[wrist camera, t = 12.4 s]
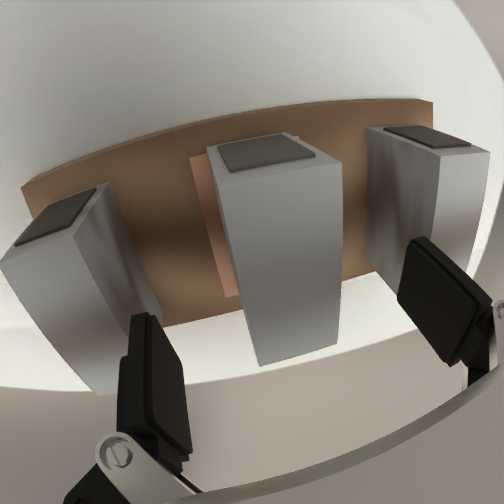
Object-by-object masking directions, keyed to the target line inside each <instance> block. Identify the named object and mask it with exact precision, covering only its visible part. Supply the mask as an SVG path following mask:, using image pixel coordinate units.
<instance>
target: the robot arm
mask: <svg viewBox="0 0 504 504" xmlns="http://www.w3.org/2000/svg"><path fill="white" fill-rule="evenodd" d="M397 301H398V303H399V305H400V306H401V307H402V308H403V310H404V311H405V312H406V313H407V315H408V316H409V317H410V318H411V320H412V321H413V322H414V324H415V325H416V326H417V328H418V329H419V330H420V332H421V333H422V334H423V335H424V337H425V338H426V339H427V341H428V342H429V343H430V345H431V346H432V348H433V349H434V350H435V352H436V353H437V354H438V356H439V357H440V359H441V360H442V361H443V362H446V363H447V364H448V366H449V367H452V366H453V365H455V364H456V363H458V362H459V361H460V359H461V360H462V362H463V381H462V392H461V393H459V394H458V395H456V396H455V397H453V398H452V399H450V400H449V401H447V402H445V403H444V404H442V405H441V406H439V407H438V408H436V409H434V410H433V411H431V412H429V413H428V414H426V415H424V416H422V417H421V418H419V419H417V420H415V421H413V422H412V423H410V424H408V425H406V426H404V427H402V428H400V429H399V430H397V431H395V432H393V433H391V434H389V435H387V436H385V437H382V438H380V439H378V440H376V441H374V442H372V443H369V444H367V445H365V446H363V447H360V448H358V449H356V450H354V451H351V452H348V453H346V454H343V455H341V456H338V457H336V458H333V459H331V460H328V461H325V462H322V463H319V464H316V465H313V466H310V467H307V468H304V469H301V470H298V471H295V472H291V473H287V474H284V475H280V476H276V477H273V478H269V479H265V480H262V481H257V482H253V483H249V484H245V485H239V486H235V487H229V488H224V489H220V490H214V491H209V492H205V491H203V490H202V489H201V488H200V487H198V486H197V485H195V483H193V482H192V481H191V480H189V479H188V478H187V477H186V476H185V475H183V474H182V473H181V472H182V471H183V469H182V462H185V461H189V455H188V454H191V453H192V452H193V449H192V442H191V435H190V428H189V420H188V412H187V404H186V395H185V385H184V375H183V367H182V363H181V361H180V359H179V357H178V356H177V354H176V352H175V350H174V349H173V347H172V345H171V343H170V341H169V340H168V338H167V336H166V334H165V332H164V330H163V329H162V327H161V325H160V323H159V321H158V319H157V317H156V316H155V315H150V314H149V312H143V313H139V314H135V315H132V316H131V320H130V329H129V340H128V353H127V356H123V357H122V358H121V359H120V364H119V378H118V395H117V396H118V397H117V431H116V432H112V433H108V434H107V435H105V436H104V437H102V438H101V440H100V441H99V442H98V444H97V447H96V451H95V457H96V462H97V463H96V464H95V465H94V466H93V468H92V469H91V470H90V471H89V472H88V473H87V474H86V475H85V476H84V477H83V478H82V479H81V480H80V481H79V482H78V483H77V484H76V485H75V487H74V488H73V489H72V490H71V491H70V492H69V493H68V494H67V495H66V497H65V498H64V502H63V504H504V300H499V301H497V302H496V303H495V304H494V306H493V307H492V306H491V303H492V299H491V298H490V297H489V296H488V295H487V294H486V293H485V292H484V290H482V289H481V287H479V285H478V284H477V283H475V281H474V280H472V279H471V278H470V277H469V276H468V275H467V274H466V273H465V272H464V271H463V270H462V269H461V268H460V267H459V266H458V265H457V264H456V263H455V262H454V261H452V260H451V259H450V258H449V257H448V256H447V255H446V254H445V253H444V252H443V251H441V250H440V249H439V248H438V247H437V246H436V245H435V244H433V243H432V242H431V241H430V240H429V239H428V238H426V237H425V236H420V237H417V238H414V239H411V240H410V241H409V244H408V245H407V248H406V253H405V259H404V264H403V269H402V274H401V279H400V283H399V288H398V292H397Z"/></svg>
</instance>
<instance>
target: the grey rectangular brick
mask: <svg viewBox="0 0 504 504" xmlns="http://www.w3.org/2000/svg"><path fill="white" fill-rule="evenodd" d="M206 151H207V155H208V160H209V165H210V169H211V174H212V179H213V183H214V188H215V192H216V197H217V202H218V206H219V211H220V215H221V219H222V224H223V228H224V233H225V237H226V241H227V246H228V250H229V254H230V259H231V263H232V267H233V272H234V276H235V280H236V284H237V288H238V292H239V296H240V300H241V303H242V307H243V311H244V314H245V318H246V322H247V325H248V329H249V332H250V336H251V340H252V343H253V347H254V350H255V354H256V357H257V361H258V364H259V367H260V366H264V365H268V364H272V363H275V362H279V361H282V360H286V359H289V358H293V357H296V356H300V355H303V354H306V353H309V352H313V351H316V350H319V349H322V348H325V347H328V346H331V345H334V344H337V338H338V327H339V314H340V299H341V280H342V253H343V183H342V162H340V161H338V160H336V159H335V158H333V157H331V156H329V155H328V154H326V153H324V152H322V151H320V150H319V149H317V148H315V147H313V146H311V145H309V144H307V143H306V142H304V141H302V140H300V139H298V138H296V137H294V136H292V135H290V134H288V133H286V132H282V133H276V134H270V135H264V136H258V137H253V138H247V139H242V140H237V141H232V142H227V143H222V144H218V145H213V146H209V147H206Z"/></svg>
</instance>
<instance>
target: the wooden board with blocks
mask: <svg viewBox="0 0 504 504" xmlns="http://www.w3.org/2000/svg"><path fill="white" fill-rule="evenodd" d="M282 132H286V133H288V134H290V135H292V136H294V137H296V138H298V139H300V140H302V141H304V142H306V143H307V144H309V145H311V146H313V147H315V148H317V149H319V150H320V151H322V152H324V153H326V154H328V155H329V156H331V157H333V158H335V159H336V160H338V161H340V162H342V183H343V253H342V280H341V282H342V281H345V280H348V279H352V278H355V277H358V276H361V275H364V274H368V273H371V272H374V271H376V272H377V273H378V274H379V275H380V277H381V278H382V279H383V280H384V281H385V282H386V284H387V285H388V286H389V287H390V288H391V289H392V291H393V292H394V293H395V294H396V295H397V292H398V288H399V283H400V279H401V274H402V269H403V264H404V259H405V253H406V248H407V245H408V244H409V241H410V240H411V239H414V238H417V237H420V236H425V237H426V238H428V239H429V240H430V241H431V242H432V243H433V244H435V245H436V246H437V247H438V248H439V249H440V250H441V251H443V252H444V253H445V254H446V255H447V256H448V257H449V258H450V259H451V260H452V261H454V262H455V263H456V264H457V265H458V266H459V267H460V268H461V269H462V270H463V271H464V272H465V273H466V270H467V266H468V263H469V260H470V256H471V253H472V249H473V245H474V241H475V238H476V233H477V229H478V225H479V220H480V216H481V211H482V206H483V201H484V195H485V189H486V183H487V176H488V168H489V160H490V152H489V151H487V150H484V149H482V148H480V147H477V146H475V145H472V144H471V143H469V142H466V141H464V140H461V139H458V138H456V137H453V136H451V135H448V134H445V133H442V132H439V131H436V130H434V129H433V102H429V101H424V100H420V99H358V100H339V101H326V102H315V103H305V104H296V105H288V106H280V107H273V108H266V109H260V110H254V111H248V112H242V113H237V114H232V115H226V116H221V117H217V118H212V119H207V120H203V121H199V122H194V123H190V124H186V125H182V126H178V127H174V128H171V129H167V130H163V131H160V132H156V133H153V134H149V135H146V136H143V137H139V138H136V139H133V140H130V141H127V142H124V143H121V144H118V145H115V146H112V147H109V148H106V149H103V150H100V151H98V152H95V153H92V154H90V155H87V156H84V157H82V158H79V159H77V160H74V161H72V162H69V163H67V164H64V165H62V166H60V167H57V168H55V169H53V170H50V171H48V172H46V173H44V174H42V175H39V176H37V177H35V178H33V179H31V180H30V181H29V182H27V183H26V184H25V185H23V186H22V187H21V190H22V193H23V195H24V198H25V200H26V203H27V205H28V208H29V210H30V212H31V215H32V217H33V219H34V220H33V221H32V222H31V223H30V225H29V226H28V227H27V228H26V229H25V230H24V232H23V233H22V234H21V235H20V236H19V237H18V239H17V240H16V241H15V242H14V244H13V245H12V246H11V247H10V249H9V250H8V251H7V252H6V254H5V255H4V256H3V258H2V259H1V260H0V269H1V270H2V272H3V274H4V276H5V277H6V279H7V281H8V282H9V284H10V286H11V287H12V289H13V291H14V292H15V294H16V295H17V297H18V298H19V300H20V301H21V303H22V304H23V306H24V307H25V309H26V310H27V312H28V313H29V315H30V316H31V318H32V319H33V320H34V322H35V323H36V325H37V326H38V327H39V329H40V330H41V331H42V333H43V334H44V335H45V337H46V338H47V339H48V341H49V342H50V343H51V344H52V346H53V347H54V348H55V349H56V351H57V352H58V353H59V354H60V355H61V357H62V358H63V359H64V360H65V361H66V363H67V364H68V365H69V366H70V367H71V368H72V369H73V371H74V372H75V373H76V374H77V375H78V376H79V377H80V378H81V379H82V381H83V382H84V383H85V384H86V385H87V386H88V387H89V388H90V389H91V390H92V391H93V392H94V393H95V394H96V395H97V396H106V395H114V394H118V378H119V364H120V359H121V358H122V357H123V356H127V353H128V340H129V329H130V320H131V316H132V315H135V314H139V313H143V312H149V314H150V315H155V316H156V317H157V319H158V321H159V323H160V325H161V327H162V328H164V327H168V326H173V325H178V324H182V323H186V322H191V321H195V320H200V319H204V318H208V317H212V316H216V315H221V314H225V313H229V312H233V311H237V310H241V309H243V307H242V303H241V300H240V296H239V292H238V288H237V284H236V280H235V276H234V272H233V267H232V263H231V259H230V254H229V250H228V246H227V241H226V237H225V233H224V228H223V224H222V219H221V215H220V211H219V206H218V202H217V197H216V192H215V188H214V183H213V179H212V174H211V169H210V165H209V160H208V155H207V151H206V147H209V146H213V145H218V144H222V143H227V142H232V141H237V140H242V139H247V138H253V137H258V136H264V135H270V134H276V133H282Z"/></svg>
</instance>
